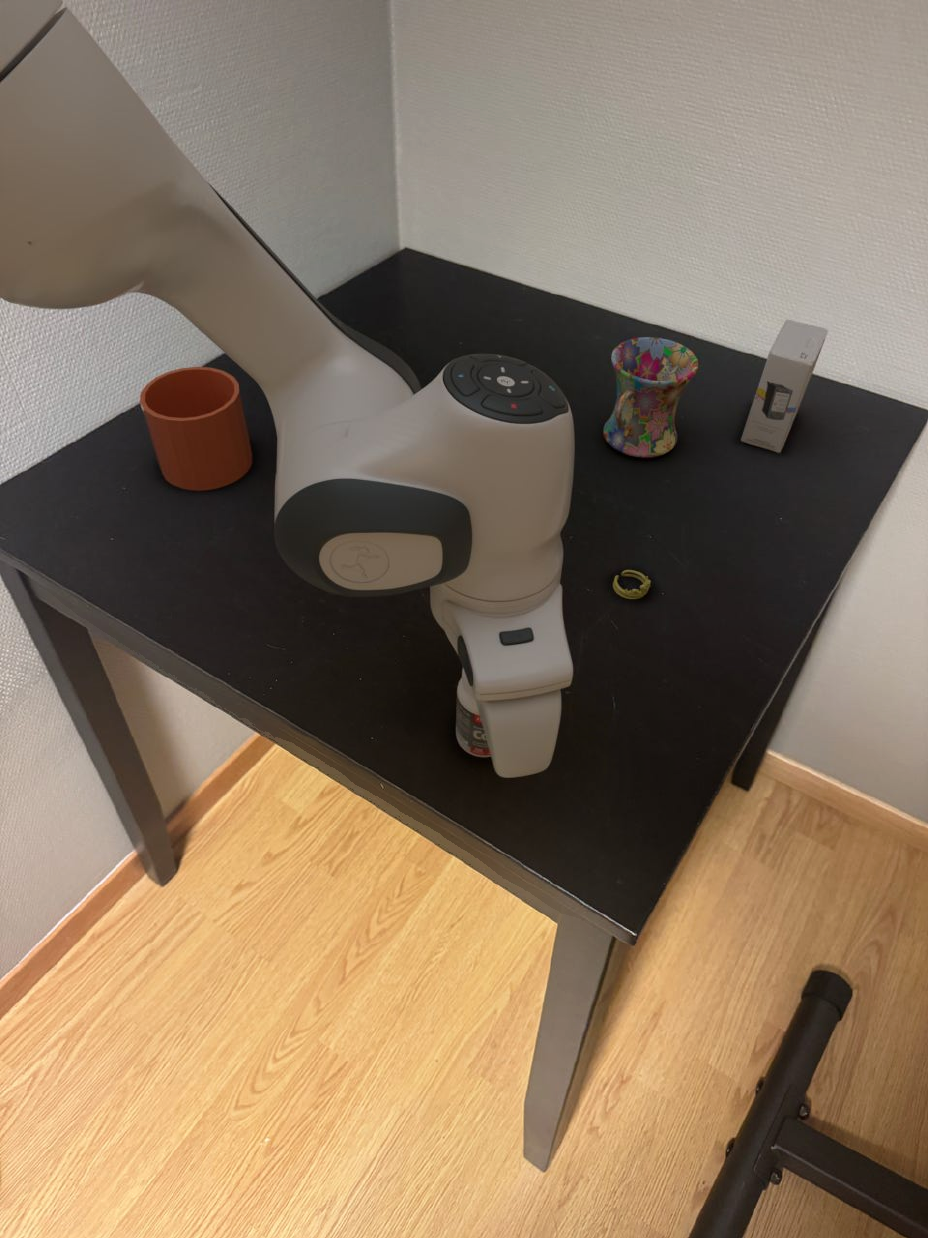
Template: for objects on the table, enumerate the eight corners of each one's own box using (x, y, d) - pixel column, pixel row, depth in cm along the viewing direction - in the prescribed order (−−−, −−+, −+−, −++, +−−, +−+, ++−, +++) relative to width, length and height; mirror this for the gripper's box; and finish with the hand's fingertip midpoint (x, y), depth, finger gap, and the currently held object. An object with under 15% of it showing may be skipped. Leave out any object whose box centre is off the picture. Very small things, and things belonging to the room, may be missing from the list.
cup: (160, 496, 92) (138, 425, 85) (162, 441, 99) (141, 371, 92) (255, 485, 94) (240, 414, 87) (250, 432, 100) (237, 362, 94)
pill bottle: (472, 767, 70) (475, 704, 63) (446, 724, 72) (446, 660, 66) (523, 745, 71) (530, 682, 65) (495, 704, 74) (500, 640, 68)
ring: (627, 609, 83) (639, 593, 81) (605, 584, 84) (616, 568, 81) (650, 593, 85) (663, 577, 82) (628, 569, 86) (640, 552, 83)
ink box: (756, 406, 106) (784, 315, 97) (797, 417, 104) (830, 326, 96) (738, 443, 100) (766, 351, 92) (781, 456, 99) (814, 363, 90)
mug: (622, 409, 105) (637, 327, 97) (692, 436, 101) (713, 354, 93) (571, 456, 98) (582, 373, 90) (644, 487, 94) (662, 404, 87)
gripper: (421, 495, 65) (425, 619, 75) (482, 708, 52) (476, 825, 62) (502, 485, 66) (495, 609, 76) (582, 692, 53) (561, 809, 63)
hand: (487, 707), depth 69 cm, fingers open, 8 cm apart
